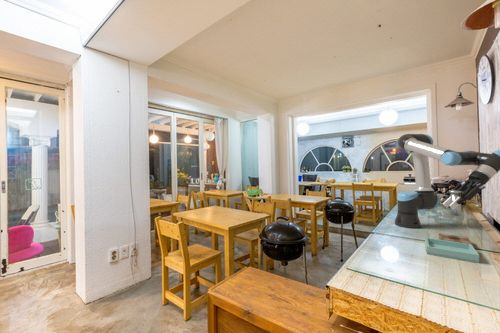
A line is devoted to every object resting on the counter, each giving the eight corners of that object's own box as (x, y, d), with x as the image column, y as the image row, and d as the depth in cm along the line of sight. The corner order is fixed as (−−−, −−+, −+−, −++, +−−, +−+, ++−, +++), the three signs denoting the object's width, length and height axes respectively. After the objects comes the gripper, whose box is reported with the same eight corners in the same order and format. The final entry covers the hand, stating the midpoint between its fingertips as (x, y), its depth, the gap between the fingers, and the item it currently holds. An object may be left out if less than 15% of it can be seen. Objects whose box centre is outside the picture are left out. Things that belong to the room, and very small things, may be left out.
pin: (449, 215, 121) (449, 191, 120) (448, 213, 125) (448, 189, 125) (464, 216, 117) (464, 191, 117) (461, 214, 122) (461, 190, 122)
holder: (441, 244, 121) (441, 239, 121) (438, 238, 131) (438, 233, 131) (472, 249, 114) (472, 243, 114) (467, 242, 124) (467, 237, 124)
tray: (426, 254, 110) (427, 246, 110) (425, 244, 123) (425, 237, 123) (479, 263, 99) (479, 255, 99) (471, 251, 113) (471, 244, 112)
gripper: (503, 181, 111) (467, 215, 113) (472, 179, 128) (441, 208, 130) (492, 170, 112) (456, 204, 113) (462, 169, 129) (431, 199, 130)
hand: (448, 206), depth 121 cm, fingers closed on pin, 4 cm apart
